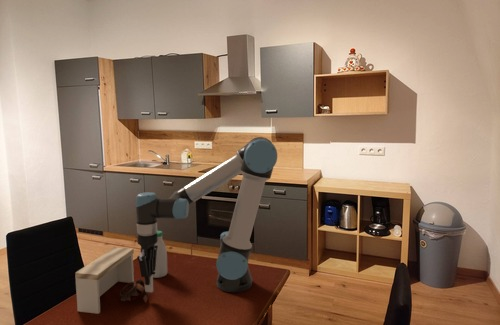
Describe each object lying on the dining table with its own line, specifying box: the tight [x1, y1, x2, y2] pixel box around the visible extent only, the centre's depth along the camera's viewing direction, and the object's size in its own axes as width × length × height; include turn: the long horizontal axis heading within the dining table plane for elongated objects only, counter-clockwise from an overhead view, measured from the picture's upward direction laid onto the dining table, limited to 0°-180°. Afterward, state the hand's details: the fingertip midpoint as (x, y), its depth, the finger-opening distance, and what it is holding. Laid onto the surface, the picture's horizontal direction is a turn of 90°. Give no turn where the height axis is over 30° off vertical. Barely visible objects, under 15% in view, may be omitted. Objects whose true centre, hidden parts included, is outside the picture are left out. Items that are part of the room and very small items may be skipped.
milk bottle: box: [152, 230, 168, 279], centre depth 168 cm, size 8×8×20 cm
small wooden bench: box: [74, 246, 135, 315], centre depth 149 cm, size 9×26×15 cm, turn 169°
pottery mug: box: [119, 279, 149, 304], centre depth 147 cm, size 12×10×8 cm
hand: (149, 291), depth 146 cm, fingers closed
